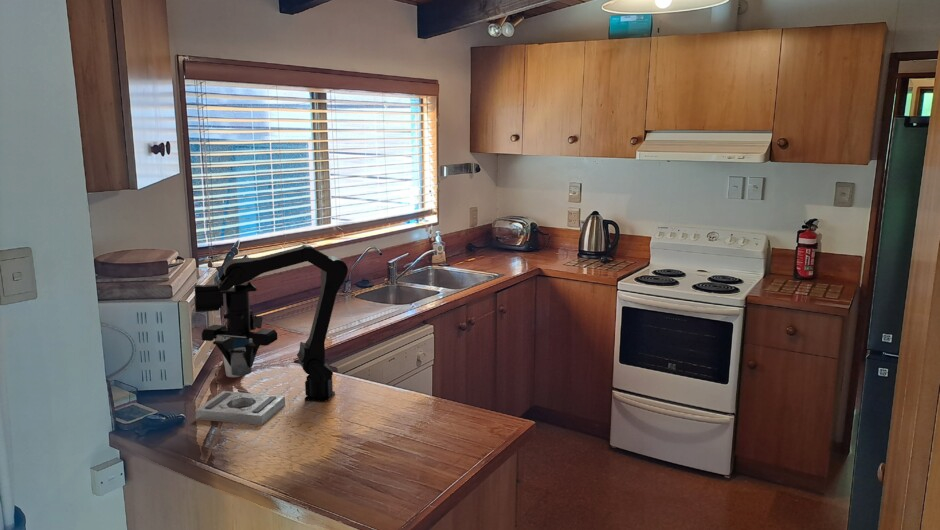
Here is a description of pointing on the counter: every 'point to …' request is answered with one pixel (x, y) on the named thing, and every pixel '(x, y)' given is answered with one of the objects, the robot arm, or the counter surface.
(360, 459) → the counter surface
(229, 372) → the white cylinder
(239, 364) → the bushing
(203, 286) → the robot arm
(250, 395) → the jig
